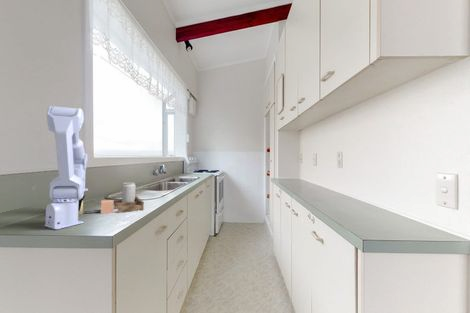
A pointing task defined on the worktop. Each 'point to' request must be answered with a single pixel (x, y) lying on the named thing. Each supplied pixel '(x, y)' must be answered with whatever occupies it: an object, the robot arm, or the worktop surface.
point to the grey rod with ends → (105, 208)
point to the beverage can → (128, 192)
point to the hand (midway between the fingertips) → (76, 210)
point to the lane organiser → (129, 205)
